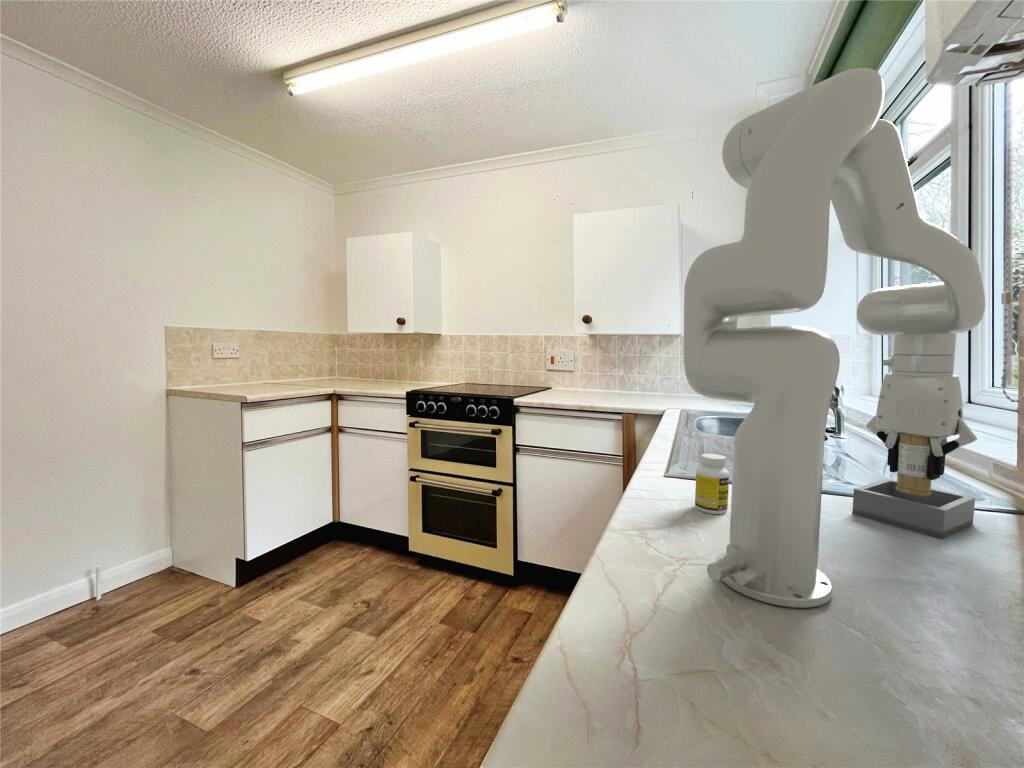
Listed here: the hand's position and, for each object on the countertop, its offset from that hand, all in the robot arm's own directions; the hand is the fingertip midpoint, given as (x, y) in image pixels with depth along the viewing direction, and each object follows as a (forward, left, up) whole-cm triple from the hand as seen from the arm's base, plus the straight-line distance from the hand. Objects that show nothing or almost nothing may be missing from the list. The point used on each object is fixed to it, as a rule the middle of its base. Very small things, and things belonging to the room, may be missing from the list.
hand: (914, 473), depth 76 cm
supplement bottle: (-26, +19, -8) cm, 33 cm away
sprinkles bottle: (0, 0, -4) cm, 4 cm away
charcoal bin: (0, 0, -8) cm, 8 cm away
